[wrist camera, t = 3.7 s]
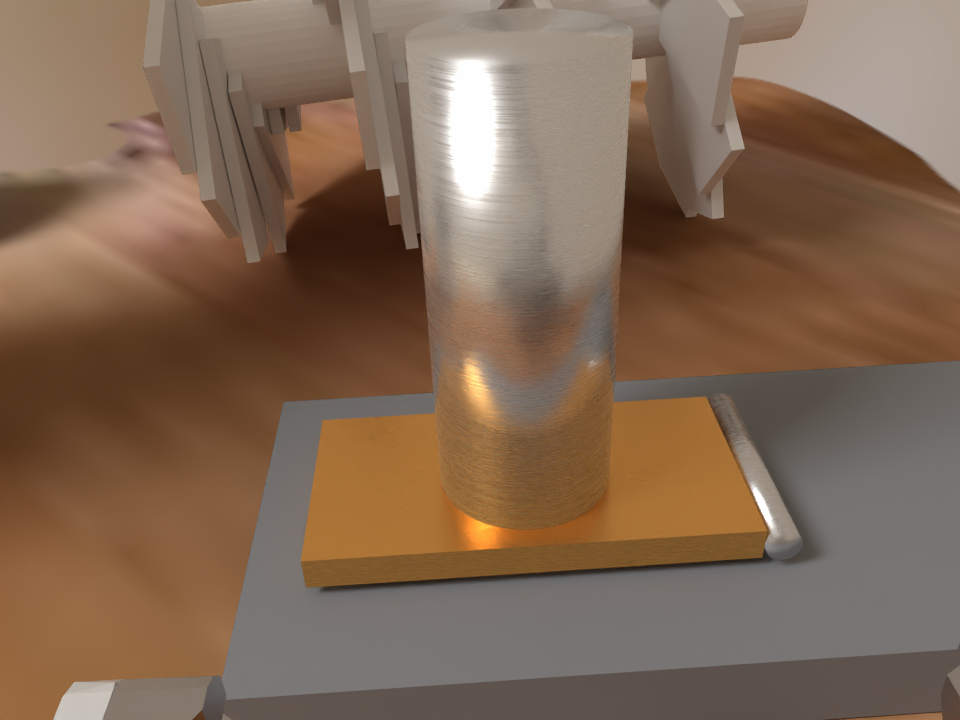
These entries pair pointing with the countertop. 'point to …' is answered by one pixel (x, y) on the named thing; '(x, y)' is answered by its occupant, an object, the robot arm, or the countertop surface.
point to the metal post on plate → (530, 343)
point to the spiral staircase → (385, 91)
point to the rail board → (645, 584)
